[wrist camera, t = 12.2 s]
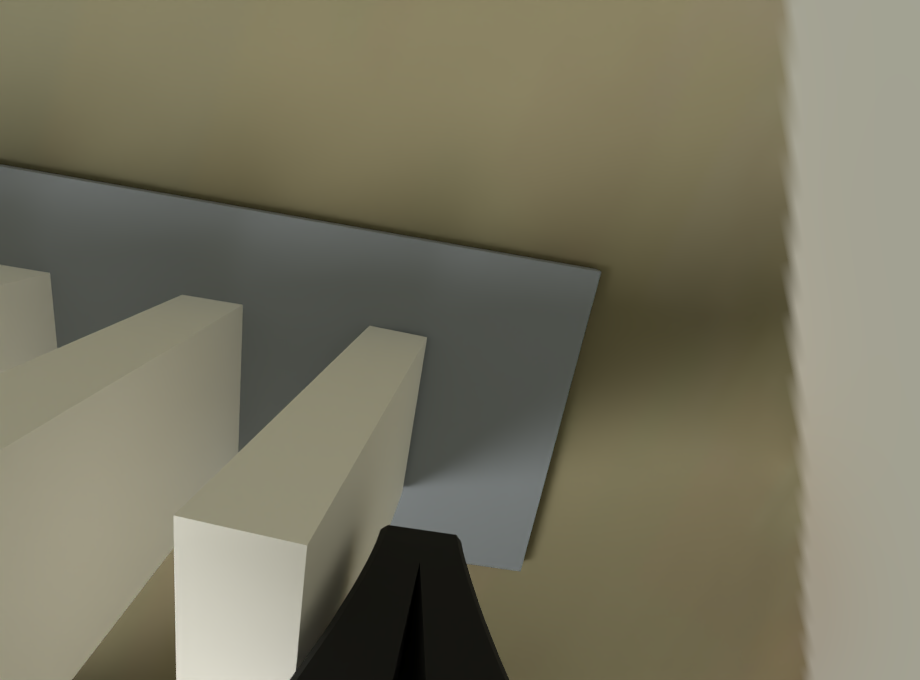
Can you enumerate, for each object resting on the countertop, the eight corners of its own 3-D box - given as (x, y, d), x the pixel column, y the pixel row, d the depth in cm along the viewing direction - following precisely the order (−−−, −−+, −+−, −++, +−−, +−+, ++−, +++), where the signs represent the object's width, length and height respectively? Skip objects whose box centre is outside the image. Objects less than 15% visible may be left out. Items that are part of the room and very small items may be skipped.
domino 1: (237, 464, 15) (-3, 776, 7) (183, 456, 14) (-120, 764, 7) (243, 304, 13) (-61, 486, 5) (182, 294, 13) (-212, 464, 5)
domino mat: (519, 561, 16) (520, 571, 16) (-422, 429, 15) (-446, 436, 14) (597, 269, 13) (601, 271, 13) (-592, 60, 12) (-629, 55, 11)
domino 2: (402, 492, 15) (282, 818, 7) (350, 480, 15) (178, 792, 7) (426, 337, 13) (307, 545, 6) (369, 325, 13) (172, 515, 6)
